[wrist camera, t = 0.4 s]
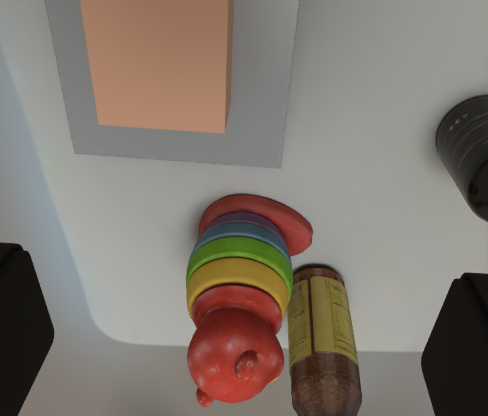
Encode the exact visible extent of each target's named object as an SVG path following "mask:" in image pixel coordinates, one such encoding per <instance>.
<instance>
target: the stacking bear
mask: <svg viewBox="0 0 488 416" xmlns="http://www.w3.org/2000/svg"><path fill="white" fill-rule="evenodd" d="M312 235H313V230H312V227H311V225H310V224H309V223H308V222H307V221H306V220H305V219H304V218H303V217H301V216H300V215H299V214H298V213H296V212H295V211H293V210H292V209H290V208H288V207H286V206H284V205H282V204H280V203H278V202H275V201H272V200H269V199H266V198H262V197H257V196H251V195H235V196H229V197H226V198H223V199H221V200H219V201H217V202H215V203H214V204H212V205H211V206H210V207H209V208H208V209H207V210H206V211H205V213H204V214H203V216H202V218H201V221H200V226H199V236H200V239H199V240H198V242H197V244H196V245H195V247H194V249H193V252H192V254H191V256H190V259H189V264H188V268H187V275H186V289H187V306H188V311H189V315H190V317H191V319H192V320H193V322H194V324H195V326H196V327H197V330H196V331H195V333H194V335H193V337H192V340H191V342H190V345H189V349H188V354H187V363H188V368H189V371H190V375H191V377H192V379H193V380H194V382H195V384H196V385H197V386H198V389H197V392H196V397H197V400H198V402H199V403H200V404H201V405H202V406H204V407H208V406H210V404H211V403H212V402H213V400H214V399H216V400H219V401H222V402H227V403H239V402H243V401H246V400H248V399H251V398H252V397H254V396H255V395H257V394H258V393H259V392H261V391H262V390H263V389H264V387H265V386H266V385H268V384H270V383H272V382H273V381H275V380H276V379H277V378H278V377H279V376H280V374H281V372H282V370H283V367H284V355H283V351H282V348H281V346H280V343H279V341H278V339H277V337H276V336H275V335H276V334H277V333H278V331H279V330H280V328H281V326H282V321H283V319H284V316H285V313H286V310H287V306H288V303H289V301H290V297H291V293H292V287H293V271H292V263H291V259H290V257H291V256H294V255H297V254H300V253H302V252H303V251H304V250H305V249H307V248H308V247H309V246H310V245H311V243H312Z"/></svg>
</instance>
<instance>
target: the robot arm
mask: <svg viewBox="0 0 488 416" xmlns="http://www.w3.org/2000/svg"><path fill="white" fill-rule="evenodd" d="M53 339H54V328H53V324H52V321H51V318H50V315H49V313H48V309H47V306H46V303H45V300H44V296H43V294H42V290H41V287H40V284H39V281H38V278H37V275H36V272H35V269H34V265H33V262H32V260H31V256H30V254H29V252H28V251H24V250H23V248H22V246H21V245H19V244H14V243H0V416H18V413H19V412H20V409H21V407H22V405H23V403H24V401H25V399H26V397H27V395H28V393H29V391H30V389H31V386H32V385H33V383H34V381H35V378H36V376H37V374H38V372H39V370H40V368H41V366H42V364H43V362H44V360H45V358H46V356H47V354H48V351H49V350H50V348H51V345H52V343H53ZM421 367H422V372H423V375H424V379H425V382H426V385H427V389H428V393H429V396H430V399H431V403H432V406H433V410H434V413H435V416H488V274H482V273H464V274H463V275H462V276H461V278H460V279H454V280H453V282H452V284H451V286H450V289H449V291H448V294H447V296H446V298H445V301H444V303H443V306H442V308H441V310H440V313H439V315H438V318H437V320H436V322H435V325H434V327H433V330H432V332H431V334H430V337H429V339H428V342H427V344H426V346H425V349H424V351H423V354H422V358H421Z"/></svg>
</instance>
